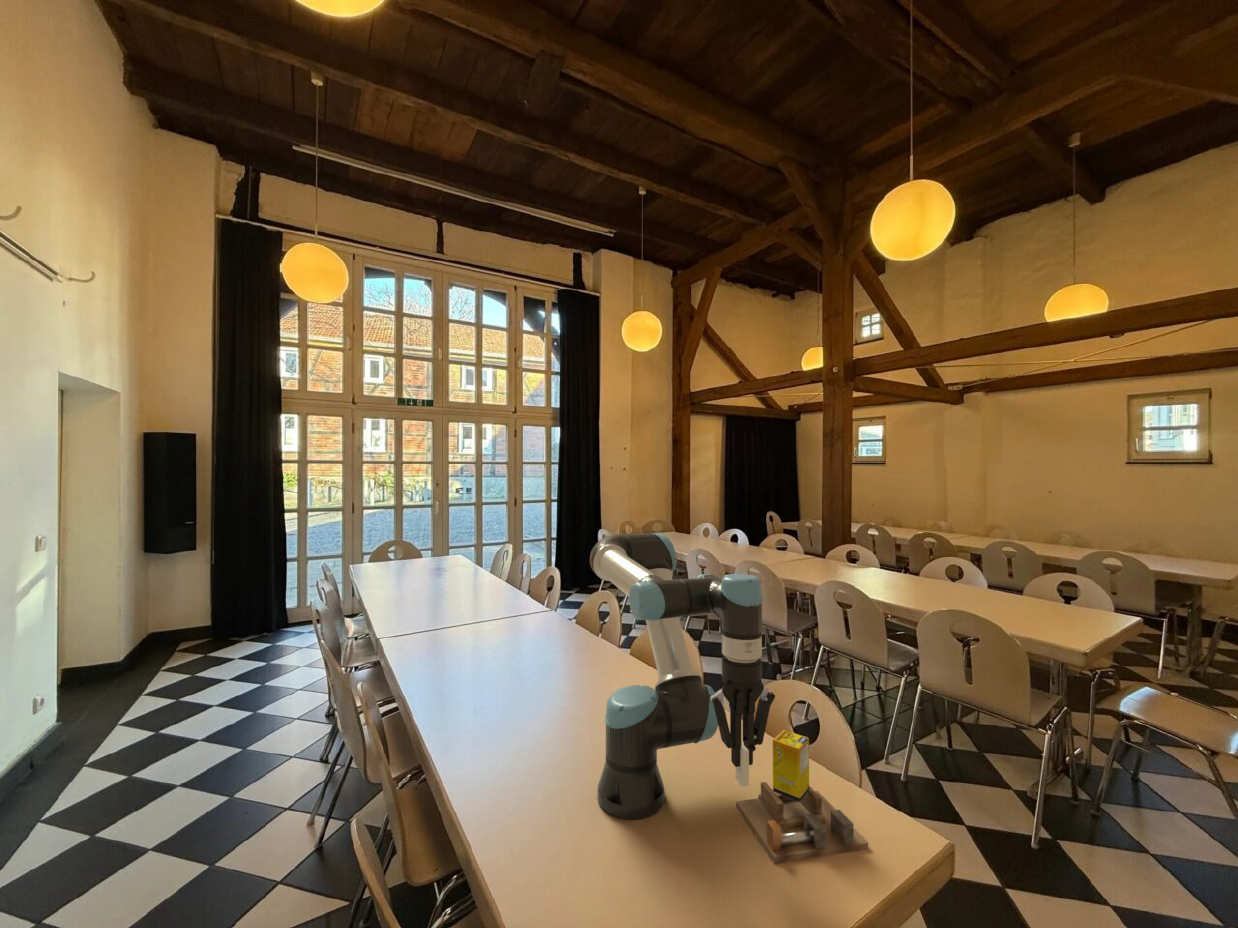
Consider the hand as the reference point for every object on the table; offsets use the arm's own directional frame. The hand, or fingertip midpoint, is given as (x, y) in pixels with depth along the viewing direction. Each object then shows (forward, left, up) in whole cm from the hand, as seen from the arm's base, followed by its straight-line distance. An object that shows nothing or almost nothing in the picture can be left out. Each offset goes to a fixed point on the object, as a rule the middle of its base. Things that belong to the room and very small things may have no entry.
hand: (742, 781), depth 98 cm
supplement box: (+15, +9, -9) cm, 20 cm away
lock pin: (+12, 0, -13) cm, 17 cm away
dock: (+15, +6, -14) cm, 22 cm away
